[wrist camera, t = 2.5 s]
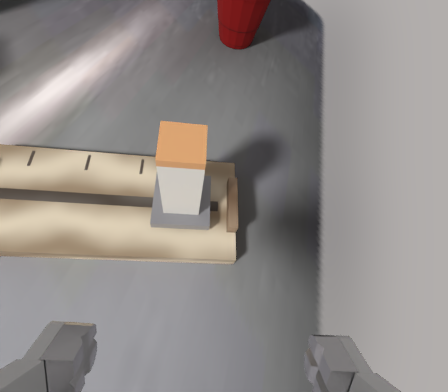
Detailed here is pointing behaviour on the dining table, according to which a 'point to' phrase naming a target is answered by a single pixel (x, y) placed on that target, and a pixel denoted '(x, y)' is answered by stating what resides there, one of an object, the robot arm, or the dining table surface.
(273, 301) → the dining table surface
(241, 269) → the dining table surface
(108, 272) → the dining table surface
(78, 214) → the fader console
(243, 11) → the plastic cup
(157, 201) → the fader handle
